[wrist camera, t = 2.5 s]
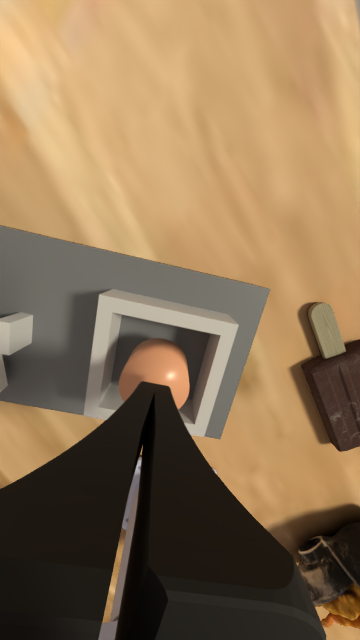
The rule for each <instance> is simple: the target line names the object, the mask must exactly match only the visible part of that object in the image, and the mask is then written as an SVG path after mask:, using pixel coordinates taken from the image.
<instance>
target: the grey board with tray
mask: <svg viewBox="0 0 360 640" xmlns="http://www.w3.org/2000/svg"><path fill="white" fill-rule="evenodd" d="M269 291H270V289H268V288H265V287H261V286H257V285H254V284H249V283H245V282H241V281H237V280H232V279H228V278H224V277H219V276H215V275H211V274H207V273H202V272H198V271H194V270H190V269H185V268H181V267H177V266H172V265H168V264H164V263H160V262H155V261H151V260H147V259H143V258H138V257H134V256H130V255H125V254H121V253H117V252H113V251H108V250H104V249H100V248H95V247H91V246H87V245H83V244H78V243H74V242H70V241H66V240H61V239H57V238H53V237H48V236H44V235H40V234H36V233H31V232H27V231H23V230H19V229H14V228H10V227H6V226H1V225H0V354H2V357H3V362H4V367H5V372H6V378H7V383H8V386H7V387H6V388H5V389H4V390H2V391H1V392H0V401H5V402H11V403H16V404H22V405H28V406H33V407H39V408H45V409H50V410H56V411H62V412H68V413H73V414H79V415H83V416H86V417H92V418H98V419H103V420H107V419H108V418H109V417H110V416H111V415H112V414H113V413H114V412H115V411H116V410H117V409H118V408H119V407H120V406H121V405H122V404H123V403H124V401H123V400H122V398H121V396H120V392H119V379H120V376H121V373H122V371H123V369H124V367H125V365H126V363H127V361H128V359H129V357H130V355H131V353H132V352H133V350H134V349H135V348H136V347H137V346H138V345H139V344H140V343H142V342H144V341H146V340H148V339H153V338H162V339H166V340H169V341H172V342H173V343H175V344H176V345H178V346H179V347H180V348H181V349H182V351H183V352H184V354H185V356H186V360H187V367H188V376H189V385H190V387H189V394H188V397H187V399H186V401H185V403H184V404H183V405H182V407H181V408H180V409H178V411H179V413H180V415H181V417H182V419H183V422H184V424H185V426H186V428H187V429H188V431H189V433H190V435H195V436H201V437H210V438H216V439H220V438H221V435H222V432H223V429H224V426H225V423H226V420H227V417H228V414H229V411H230V408H231V405H232V402H233V399H234V396H235V393H236V390H237V387H238V384H239V381H240V378H241V375H242V372H243V369H244V366H245V363H246V360H247V357H248V354H249V351H250V348H251V345H252V342H253V339H254V336H255V333H256V330H257V327H258V324H259V321H260V318H261V315H262V312H263V309H264V306H265V303H266V300H267V297H268V294H269Z"/></svg>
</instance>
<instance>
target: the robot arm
mask: <svg viewBox="0 0 360 640" xmlns="http://www.w3.org/2000/svg"><path fill="white" fill-rule="evenodd" d="M142 445H143V449H142ZM141 449H142V457H139V456H140V452H141ZM140 466H141V467H140ZM129 491H130V492H129ZM128 494H129V496H128ZM127 498H128V501H127ZM126 503H127V505H126ZM125 508H126V510H125ZM124 513H125V515H124ZM123 518H124V519H123ZM122 523H123V524H122ZM121 528H123V529H124V530H127V531H126V536H125V541H124V547H123V552H122V557H121V563H120V568H119V574H118V579H117V584H116V590H115V595H114V600H113V606H112V611H111V617H110V622H107V623H102V621H103V616H104V611H105V606H106V601H107V596H108V592H109V587H110V582H111V577H112V572H113V567H114V562H115V557H116V552H117V547H118V542H119V537H120V533H121ZM0 640H326V634H325V631H324V629H323V626H322V624H321V621H320V619H319V616H318V614H317V611H316V609H315V606H314V603H313V601H312V598H311V596H310V593H309V591H308V588H307V586H306V584H305V581H304V579H303V577H302V575H301V573H300V571H299V569H298V567H297V564H296V562H295V560H294V558H293V556H292V555H291V554H290V553H289V552H288V551H287V550H286V549H285V548H284V547H283V546H282V545H281V544H280V543H279V542H278V541H277V540H276V539H275V538H274V537H273V536H272V535H271V534H270V533H269V532H268V531H267V530H266V529H265V528H264V527H263V526H262V525H261V524H260V523H259V522H258V521H257V520H256V519H255V518H254V517H253V516H252V515H251V514H250V513H249V512H248V511H247V510H246V508H245V507H244V506H243V505H242V504H241V503H240V502H239V501H238V500H237V499H236V497H235V496H234V495H233V494H232V493H231V492H230V490H229V489H228V488H227V487H226V486H225V484H224V483H223V482H222V480H221V479H220V478H219V477H218V475H217V472H216V470H215V469H213V468H211V466H210V465H209V464H208V462H207V461H206V459H205V458H204V456H203V455H202V453H201V452H200V450H199V449H198V447H197V445H196V444H195V442H194V440H193V439H192V437H191V435H190V433H189V431H188V429H187V428H186V426H185V424H184V422H183V419H182V417H181V415H180V413H179V411H178V408H177V406H176V403H175V401H174V398H173V395H172V392H171V389H170V387H169V386H166V385H161V384H155V383H150V382H145V381H142V382H140V383H139V384H138V386H137V388H136V389H135V390H134V392H133V393H132V394H131V395H130V396H129V398H128V399H127V400H126V401H125V402H124V403H123V404H122V405H121V406H120V407H119V408H118V409H117V410H116V411H115V412H114V413H113V414H112V415H111V416H110V417H109V418H108V419H107V420H106V421H104V422H103V423H102V424H101V425H100V426H99V427H97V428H96V429H95V430H94V431H92V432H91V433H90V434H89V435H87V436H86V437H85V438H83V439H82V440H81V441H79V442H78V443H76V444H75V445H74V446H72V447H71V448H69V449H68V450H66V451H65V452H63V453H62V454H60V455H59V456H57V457H56V458H54V459H53V460H51V461H49V462H48V463H46V464H44V465H43V466H41V467H39V468H38V469H36V470H34V471H33V472H31V473H29V474H28V475H26V476H24V477H22V478H21V479H19V480H17V481H15V482H13V483H12V484H10V485H8V486H6V487H4V488H2V489H0Z"/></svg>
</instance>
